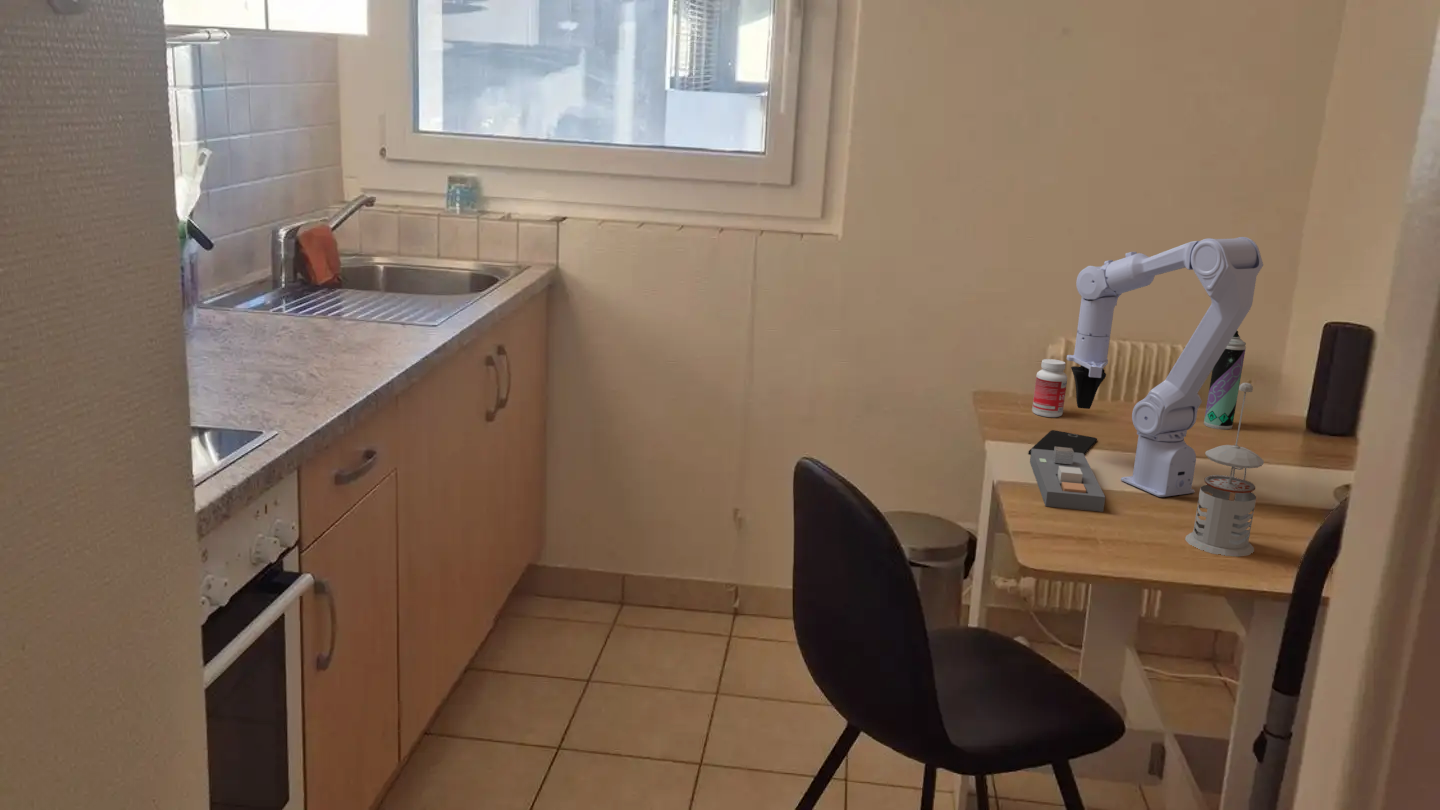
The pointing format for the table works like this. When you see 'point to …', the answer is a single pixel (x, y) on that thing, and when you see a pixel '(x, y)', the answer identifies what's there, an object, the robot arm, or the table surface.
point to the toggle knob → (1063, 455)
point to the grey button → (1069, 474)
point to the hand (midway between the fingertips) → (1083, 407)
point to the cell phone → (1065, 442)
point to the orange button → (1073, 487)
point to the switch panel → (1052, 488)
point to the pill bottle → (1050, 389)
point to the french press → (1227, 501)
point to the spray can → (1225, 385)
